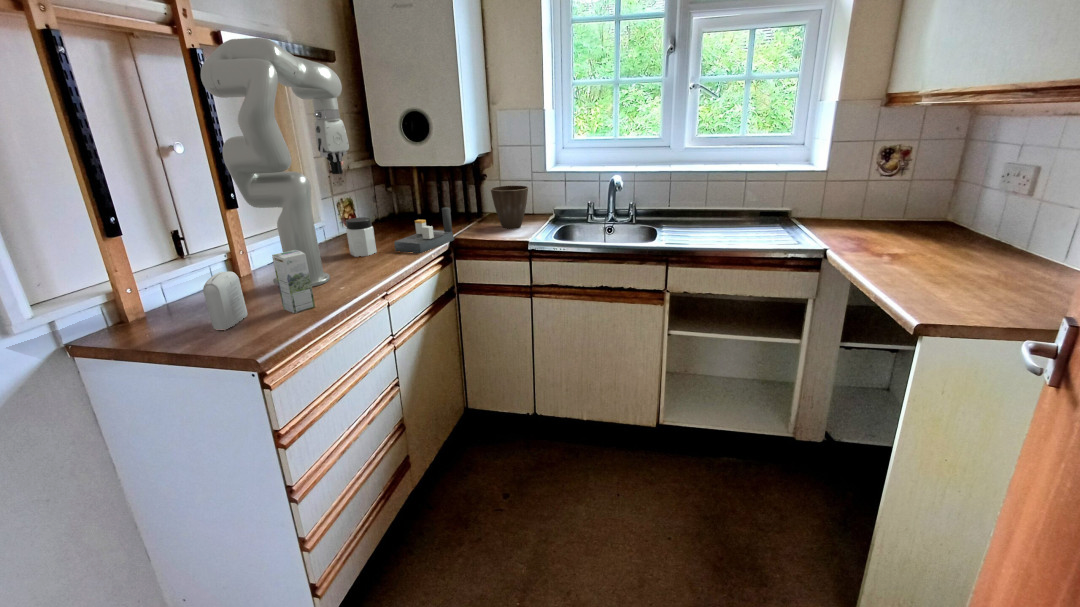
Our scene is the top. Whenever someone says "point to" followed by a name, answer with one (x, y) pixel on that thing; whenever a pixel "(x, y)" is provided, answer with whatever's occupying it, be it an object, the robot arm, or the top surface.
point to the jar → (360, 237)
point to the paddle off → (427, 232)
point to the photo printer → (224, 300)
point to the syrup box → (293, 281)
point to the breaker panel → (423, 242)
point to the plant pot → (510, 205)
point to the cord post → (447, 219)
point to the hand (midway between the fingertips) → (337, 173)
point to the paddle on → (419, 225)
